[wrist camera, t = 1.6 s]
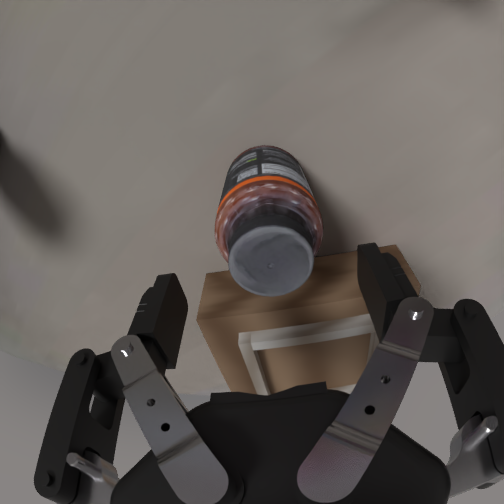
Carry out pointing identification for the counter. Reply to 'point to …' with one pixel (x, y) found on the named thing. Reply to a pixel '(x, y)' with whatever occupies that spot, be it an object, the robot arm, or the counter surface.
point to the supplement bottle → (268, 222)
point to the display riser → (293, 328)
